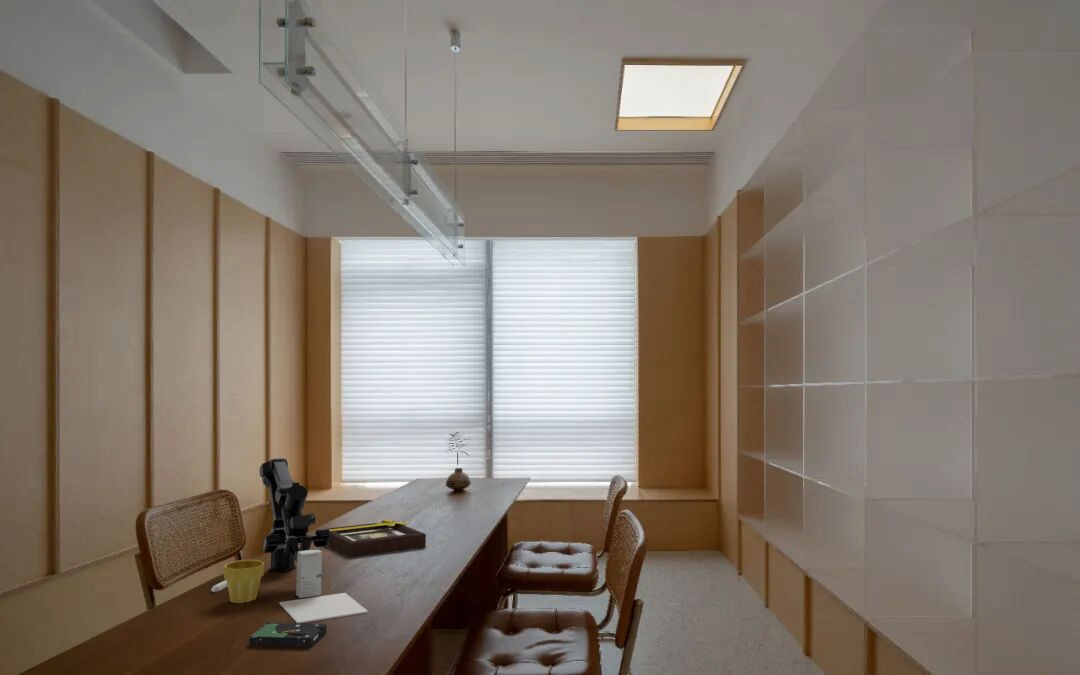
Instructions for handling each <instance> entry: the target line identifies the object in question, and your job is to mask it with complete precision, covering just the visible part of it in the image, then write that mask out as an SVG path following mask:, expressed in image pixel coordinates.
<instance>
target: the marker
mask: <svg viewBox="0 0 1080 675" xmlns="http://www.w3.org/2000/svg"><path fill="white" fill-rule="evenodd" d="M226 588H228V586H227V581H226V579H224V580H223V581H221V582H219V583H216V584H215V585H213V586H212V587H211V592H212V593H218V592H220V591H222V590H225V589H226Z"/></svg>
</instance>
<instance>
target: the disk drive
mask: <svg viewBox="0 0 1080 675" xmlns="http://www.w3.org/2000/svg"><path fill="white" fill-rule="evenodd" d="M326 634H327V623H314V622H313V623H311V622H309V623H308V622H306V623H296V622H266V623H264V624H263V625H262V626H261V627H259V628H258V629H257V631H255V632H254V633H253V634H252V635H249V638H248V647H272V648H273V647H274V648H275V647H278V648H280V647H281V648H284V647H286V648H312V647H313V646H315V644H317V643H318V642H319V641H320V640H321V639H322V638H323V637H324V636H325V635H326Z"/></svg>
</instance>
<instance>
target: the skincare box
mask: <svg viewBox="0 0 1080 675" xmlns="http://www.w3.org/2000/svg"><path fill="white" fill-rule="evenodd" d="M322 567H323V551H321V550H320V549H309V550H306V551H298V552H297V562H296V584H295V585H296V588H295V592H296V593H295V595H296V596H297V597H298V598H300V599H305V598H312V597H320V596H322V575H323V574H322V569H323V568H322Z"/></svg>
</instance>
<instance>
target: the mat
mask: <svg viewBox="0 0 1080 675" xmlns="http://www.w3.org/2000/svg"><path fill="white" fill-rule="evenodd" d="M279 605H280V607H281V608H283V610H284V611H285V612H286V613H287V614H288V615H289V616H290V617H291V619H292V620H293V621H294V623H311V622H313V623H314V622H319V621H324V620H331V619H336V618H342V617H343V618H344V617H349V616H356V615H362V614H368V613H369V611H368V610H367V609H366V608H365V607H363V606H362V604H360V603H359V602H357V601H356V600H355V599H354V598H353V597H351V596H350V595H349V594H347V592H342V593H334V594H333V593H332V594H328V595H319V596H312V597H305V598H300V599H293V600H286V601H280V602H279Z"/></svg>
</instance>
